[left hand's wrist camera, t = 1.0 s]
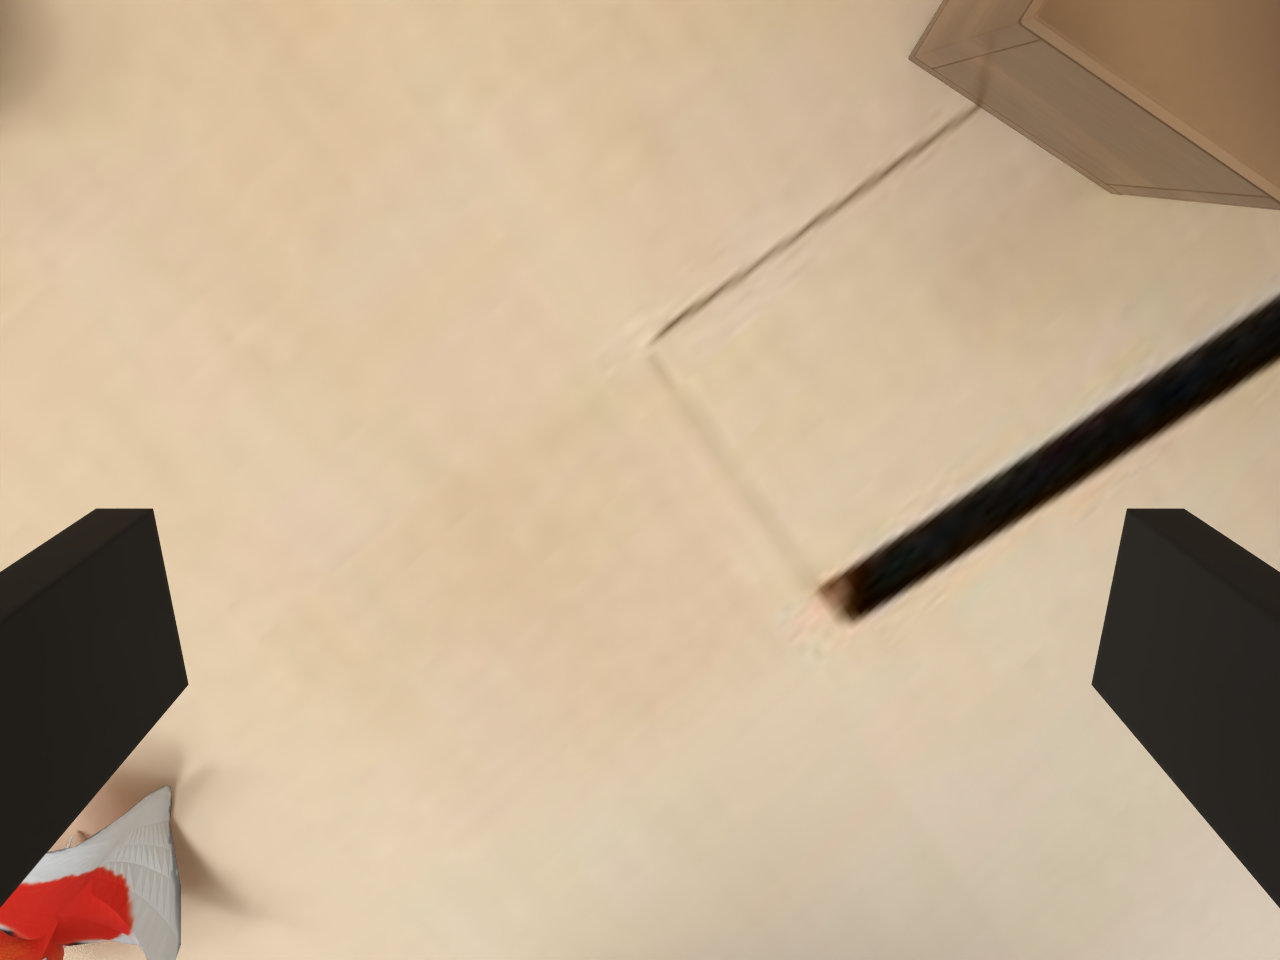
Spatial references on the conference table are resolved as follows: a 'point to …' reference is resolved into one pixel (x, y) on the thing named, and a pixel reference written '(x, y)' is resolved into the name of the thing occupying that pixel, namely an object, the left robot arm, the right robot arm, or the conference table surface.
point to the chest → (1071, 108)
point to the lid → (1185, 68)
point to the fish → (102, 891)
